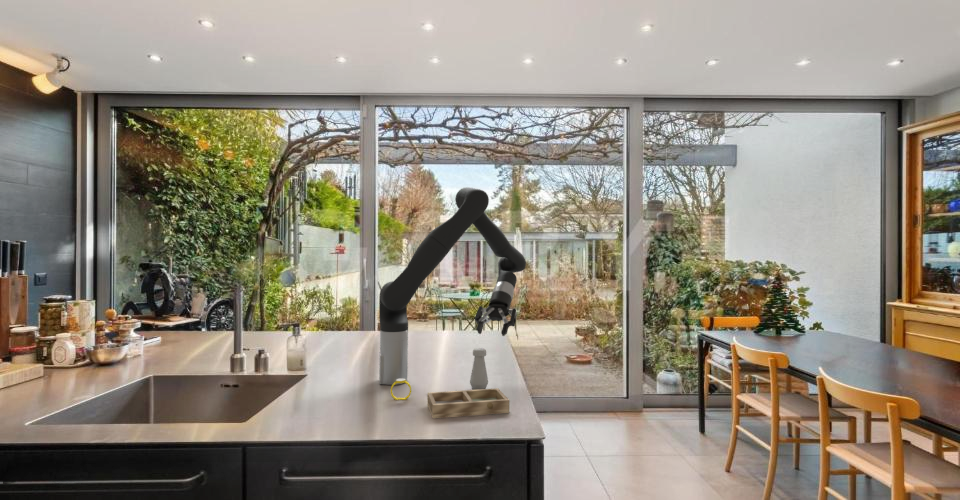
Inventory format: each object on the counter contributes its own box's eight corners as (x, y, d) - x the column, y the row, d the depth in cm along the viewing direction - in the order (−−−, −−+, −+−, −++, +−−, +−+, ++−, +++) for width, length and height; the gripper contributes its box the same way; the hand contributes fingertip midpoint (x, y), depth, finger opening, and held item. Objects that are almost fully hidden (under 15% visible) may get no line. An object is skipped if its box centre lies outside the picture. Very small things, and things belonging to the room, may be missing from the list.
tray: (433, 418, 123) (433, 405, 123) (427, 404, 134) (427, 392, 134) (509, 413, 128) (509, 400, 128) (498, 400, 139) (498, 388, 139)
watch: (390, 402, 137) (389, 381, 137) (391, 399, 140) (390, 379, 139) (411, 400, 138) (410, 379, 137) (411, 397, 140) (410, 377, 140)
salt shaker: (486, 392, 146) (486, 350, 146) (468, 391, 147) (468, 349, 147) (489, 387, 152) (490, 347, 152) (472, 386, 153) (472, 346, 153)
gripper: (481, 289, 170) (468, 325, 159) (519, 290, 165) (508, 328, 154) (486, 302, 175) (474, 338, 164) (522, 304, 170) (513, 341, 159)
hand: (490, 333), depth 159 cm, fingers open, 8 cm apart
